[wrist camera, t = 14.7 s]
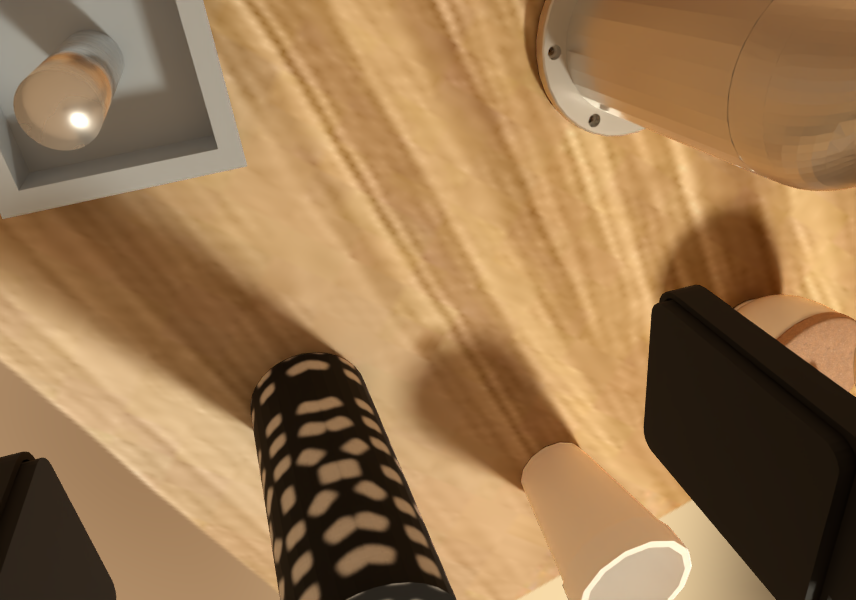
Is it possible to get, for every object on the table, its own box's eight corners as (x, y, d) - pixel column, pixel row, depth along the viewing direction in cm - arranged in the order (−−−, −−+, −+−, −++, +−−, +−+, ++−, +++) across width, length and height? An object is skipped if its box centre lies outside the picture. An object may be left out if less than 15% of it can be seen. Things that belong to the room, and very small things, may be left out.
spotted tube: (225, 419, 47) (253, 685, 30) (300, 332, 46) (373, 560, 29) (317, 463, 51) (386, 718, 35) (388, 385, 50) (495, 610, 34)
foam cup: (513, 434, 57) (594, 553, 46) (608, 421, 60) (705, 529, 49) (498, 518, 61) (568, 645, 50) (588, 502, 64) (672, 618, 53)
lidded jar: (815, 284, 60) (911, 337, 52) (757, 385, 64) (838, 448, 56) (729, 265, 56) (820, 319, 48) (672, 374, 60) (747, 441, 52)
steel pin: (112, 24, 33) (85, 63, 23) (132, 82, 35) (114, 141, 25) (52, 34, 33) (-2, 78, 23) (75, 93, 34) (33, 157, 24)
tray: (177, -93, 33) (177, -96, 30) (241, 146, 39) (247, 166, 36) (-96, -56, 30) (-130, -55, 27) (18, 193, 36) (2, 219, 33)
